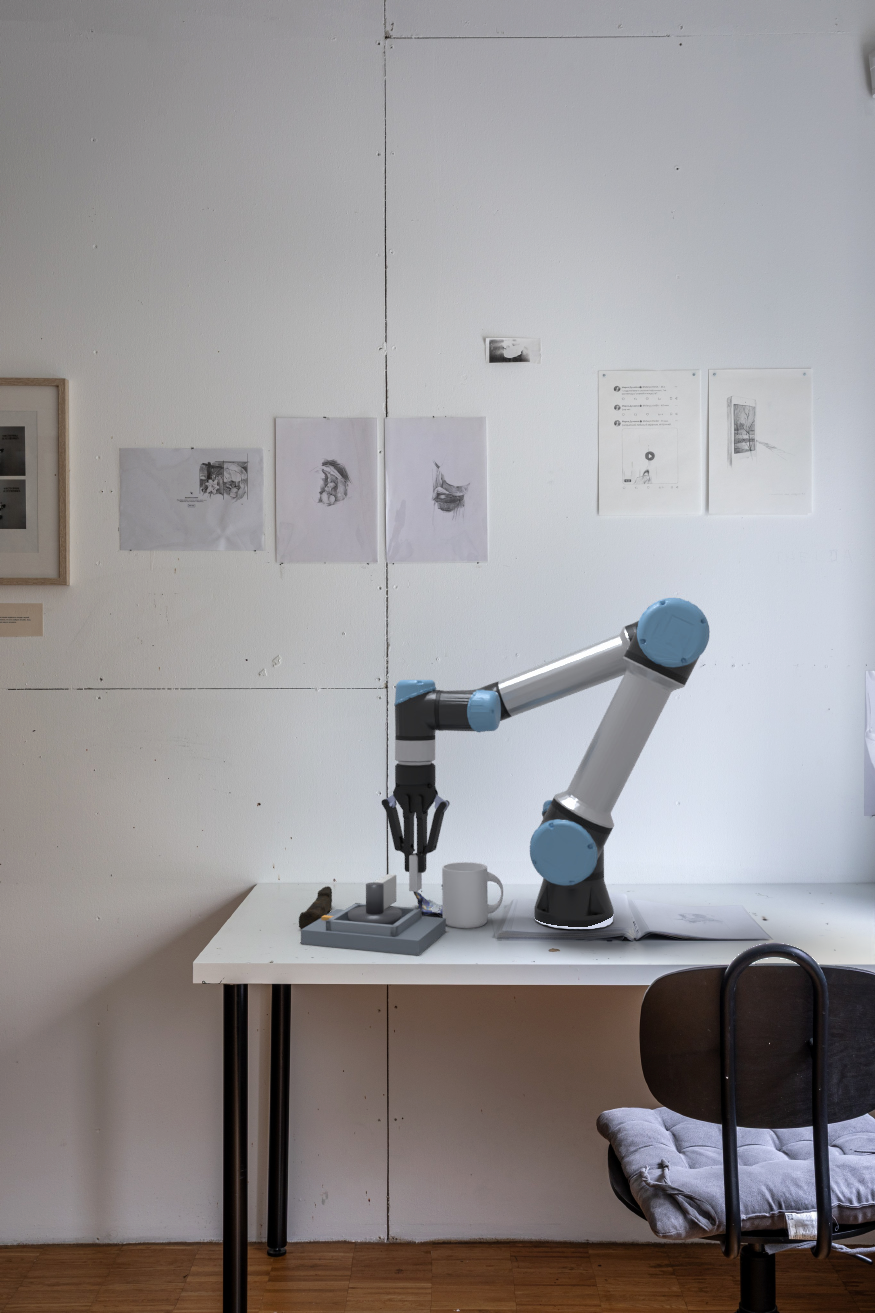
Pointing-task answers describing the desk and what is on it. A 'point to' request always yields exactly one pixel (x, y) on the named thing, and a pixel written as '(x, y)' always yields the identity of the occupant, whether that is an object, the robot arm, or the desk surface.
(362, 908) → the dial
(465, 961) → the desk surface
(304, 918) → the dark brown lumpy bar
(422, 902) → the snack package
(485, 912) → the mug
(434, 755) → the robot arm
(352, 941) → the panel
